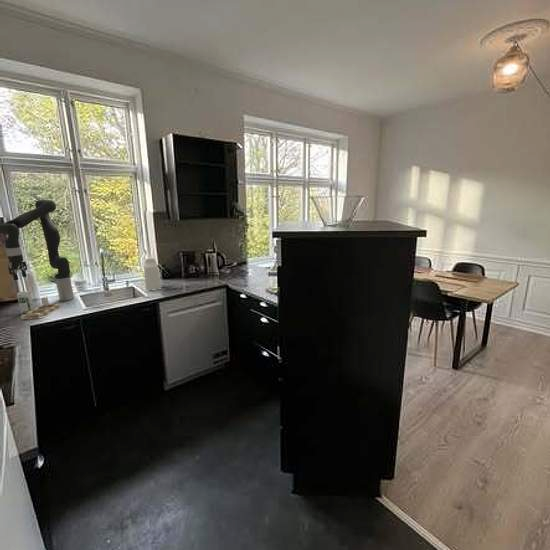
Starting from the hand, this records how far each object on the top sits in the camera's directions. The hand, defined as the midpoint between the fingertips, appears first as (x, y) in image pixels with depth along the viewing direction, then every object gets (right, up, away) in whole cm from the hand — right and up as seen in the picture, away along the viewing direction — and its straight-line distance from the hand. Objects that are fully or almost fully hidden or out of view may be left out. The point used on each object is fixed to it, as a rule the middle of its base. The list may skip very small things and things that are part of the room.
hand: (20, 278), depth 203 cm
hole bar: (+12, -23, +3) cm, 27 cm away
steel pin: (+11, -22, +9) cm, 26 cm away
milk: (+67, -10, +55) cm, 87 cm away
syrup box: (+1, -23, +6) cm, 24 cm away
